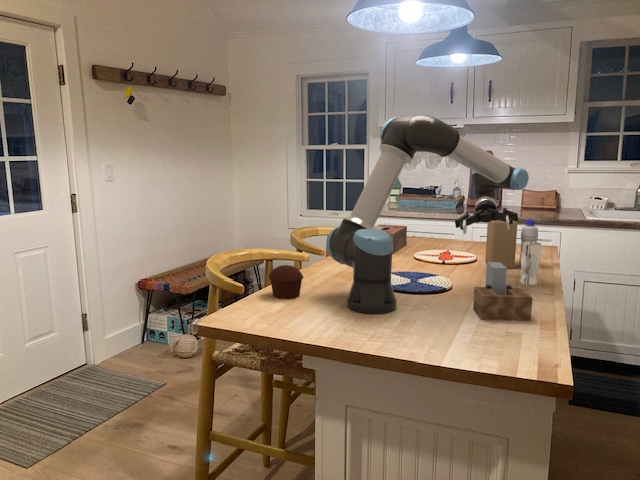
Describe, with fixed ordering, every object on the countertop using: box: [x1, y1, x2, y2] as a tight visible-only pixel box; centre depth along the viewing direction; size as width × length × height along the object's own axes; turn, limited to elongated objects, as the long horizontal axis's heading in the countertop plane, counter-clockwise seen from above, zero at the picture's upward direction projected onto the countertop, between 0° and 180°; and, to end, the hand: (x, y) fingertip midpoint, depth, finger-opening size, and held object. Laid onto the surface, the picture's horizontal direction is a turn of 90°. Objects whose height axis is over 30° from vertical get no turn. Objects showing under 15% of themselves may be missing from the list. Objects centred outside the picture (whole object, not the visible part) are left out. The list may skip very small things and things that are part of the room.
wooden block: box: [484, 220, 518, 270], centre depth 216 cm, size 10×10×20 cm
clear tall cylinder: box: [519, 242, 542, 287], centre depth 189 cm, size 7×7×15 cm
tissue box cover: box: [373, 224, 408, 255], centre depth 255 cm, size 26×14×10 cm, turn 157°
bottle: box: [519, 219, 539, 267], centre depth 214 cm, size 7×7×20 cm
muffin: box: [268, 264, 304, 300], centre depth 172 cm, size 12×11×10 cm
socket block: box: [472, 284, 533, 322], centre depth 153 cm, size 14×10×8 cm
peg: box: [484, 262, 508, 295], centre depth 161 cm, size 4×8×13 cm, turn 176°
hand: (485, 227), depth 168 cm, fingers open, 13 cm apart
